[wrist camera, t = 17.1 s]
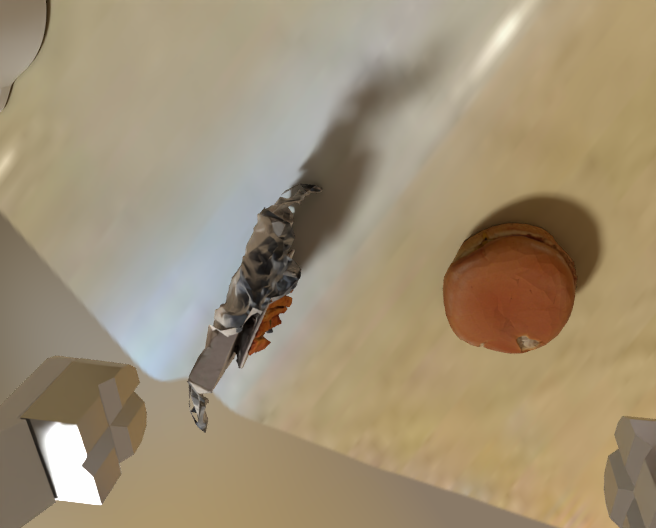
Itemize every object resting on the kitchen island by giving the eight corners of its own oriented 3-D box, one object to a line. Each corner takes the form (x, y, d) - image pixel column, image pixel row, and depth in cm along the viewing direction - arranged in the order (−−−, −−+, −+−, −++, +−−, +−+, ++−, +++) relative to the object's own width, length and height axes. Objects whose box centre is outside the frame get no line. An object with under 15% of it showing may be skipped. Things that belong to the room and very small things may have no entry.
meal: (278, 335, 51) (229, 443, 40) (234, 316, 51) (172, 419, 40) (340, 192, 44) (301, 276, 32) (289, 169, 44) (232, 245, 32)
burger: (513, 196, 41) (519, 222, 37) (598, 278, 43) (613, 312, 39) (415, 278, 46) (412, 309, 42) (496, 349, 48) (500, 385, 44)
